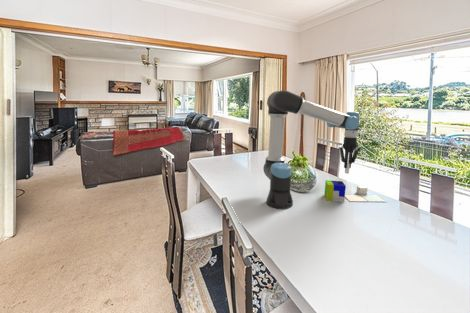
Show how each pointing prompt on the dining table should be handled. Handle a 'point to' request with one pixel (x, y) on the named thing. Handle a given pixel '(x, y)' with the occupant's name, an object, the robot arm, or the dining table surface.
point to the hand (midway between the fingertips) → (346, 172)
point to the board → (364, 198)
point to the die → (361, 190)
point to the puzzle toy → (335, 191)
